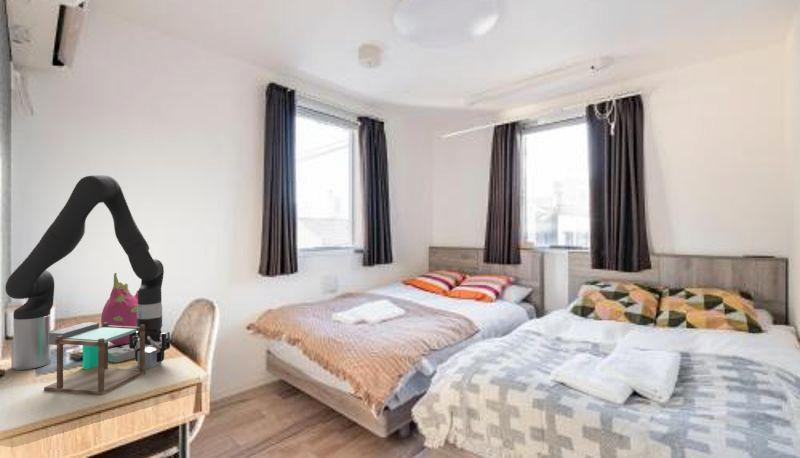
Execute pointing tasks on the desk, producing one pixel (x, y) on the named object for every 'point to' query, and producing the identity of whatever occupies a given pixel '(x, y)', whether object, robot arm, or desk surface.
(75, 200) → the robot arm
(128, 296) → the pink dragon fruit
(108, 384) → the frame
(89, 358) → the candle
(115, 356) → the handheld gaming device
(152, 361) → the grey rectangular block
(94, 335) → the trapdoor
